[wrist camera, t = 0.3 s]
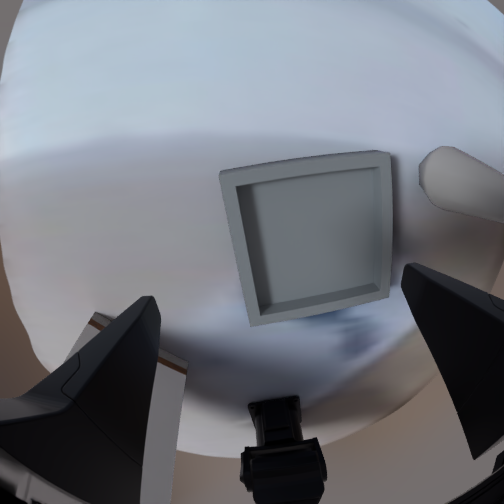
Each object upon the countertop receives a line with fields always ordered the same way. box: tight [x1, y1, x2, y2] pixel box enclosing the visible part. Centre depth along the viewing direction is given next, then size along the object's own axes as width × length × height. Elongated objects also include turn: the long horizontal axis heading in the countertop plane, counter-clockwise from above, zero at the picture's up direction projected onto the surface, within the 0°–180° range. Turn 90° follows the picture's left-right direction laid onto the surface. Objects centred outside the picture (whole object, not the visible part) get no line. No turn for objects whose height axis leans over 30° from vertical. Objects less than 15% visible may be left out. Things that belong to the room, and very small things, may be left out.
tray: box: [219, 150, 393, 327], centre depth 23 cm, size 13×13×2 cm
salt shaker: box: [419, 146, 504, 223], centre depth 16 cm, size 6×6×13 cm
